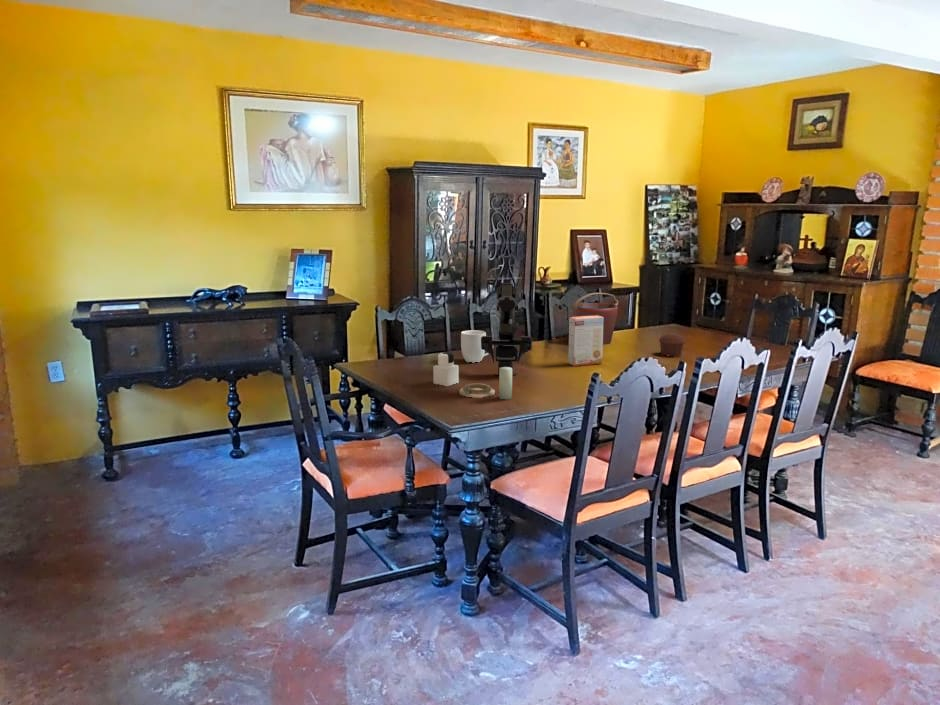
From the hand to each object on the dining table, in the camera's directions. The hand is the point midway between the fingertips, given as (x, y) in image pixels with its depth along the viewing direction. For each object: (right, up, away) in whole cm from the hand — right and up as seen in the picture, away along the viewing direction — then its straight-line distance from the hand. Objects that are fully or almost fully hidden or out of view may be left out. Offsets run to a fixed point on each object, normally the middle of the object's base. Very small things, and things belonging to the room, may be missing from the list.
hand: (506, 362), depth 248 cm
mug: (-11, 0, +55) cm, 56 cm away
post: (0, -13, -3) cm, 13 cm away
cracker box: (+37, -2, +50) cm, 63 cm away
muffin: (+80, +2, +68) cm, 106 cm away
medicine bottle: (-22, -9, +17) cm, 29 cm away
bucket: (+50, +9, +97) cm, 110 cm away
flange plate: (-11, -11, +3) cm, 16 cm away
